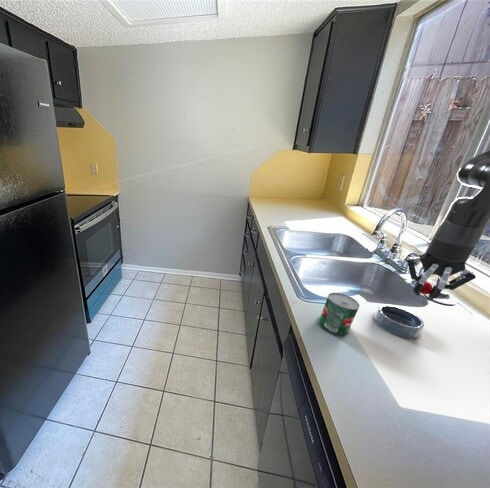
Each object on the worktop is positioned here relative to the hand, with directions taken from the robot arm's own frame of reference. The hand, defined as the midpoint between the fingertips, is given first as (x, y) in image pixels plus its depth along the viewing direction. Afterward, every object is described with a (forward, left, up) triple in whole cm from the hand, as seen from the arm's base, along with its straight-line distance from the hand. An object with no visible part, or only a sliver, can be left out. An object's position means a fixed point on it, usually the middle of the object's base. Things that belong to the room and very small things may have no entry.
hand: (423, 295), depth 72 cm
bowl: (+2, -3, -15) cm, 15 cm away
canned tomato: (+17, +11, -15) cm, 25 cm away
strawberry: (0, 0, +1) cm, 1 cm away
